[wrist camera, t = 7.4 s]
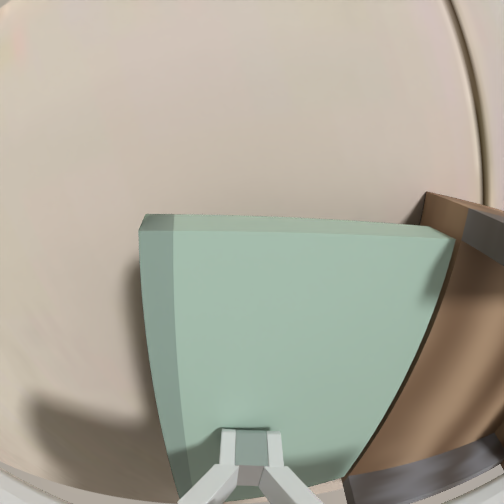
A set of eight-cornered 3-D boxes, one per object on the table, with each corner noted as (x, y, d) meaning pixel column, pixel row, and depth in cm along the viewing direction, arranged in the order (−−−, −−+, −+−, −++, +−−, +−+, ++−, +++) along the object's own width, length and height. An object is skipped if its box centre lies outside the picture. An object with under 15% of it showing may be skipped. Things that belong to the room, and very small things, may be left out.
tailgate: (455, 239, 9) (138, 230, 6) (344, 476, 14) (181, 504, 12) (429, 226, 10) (145, 214, 8) (335, 459, 16) (178, 483, 13)
